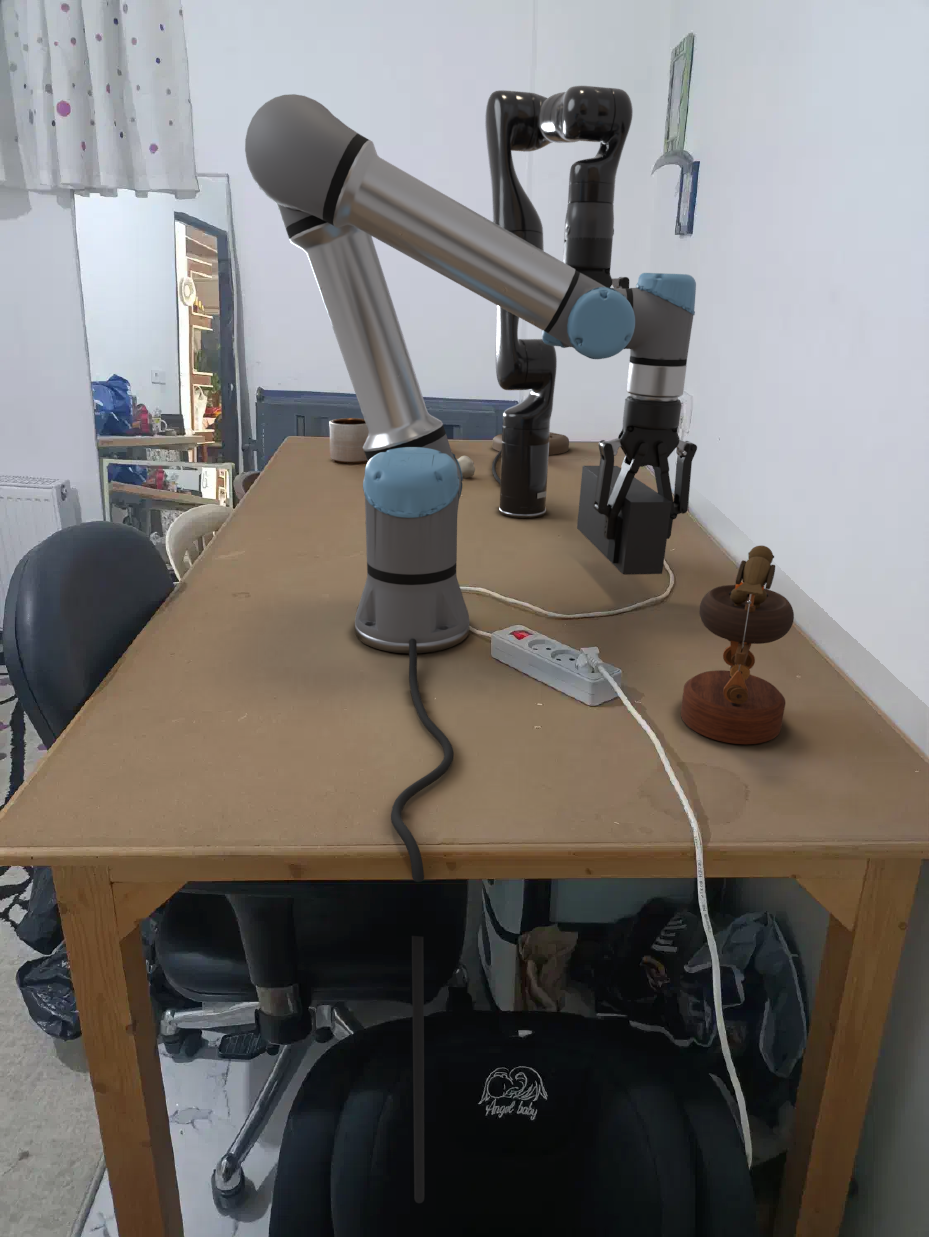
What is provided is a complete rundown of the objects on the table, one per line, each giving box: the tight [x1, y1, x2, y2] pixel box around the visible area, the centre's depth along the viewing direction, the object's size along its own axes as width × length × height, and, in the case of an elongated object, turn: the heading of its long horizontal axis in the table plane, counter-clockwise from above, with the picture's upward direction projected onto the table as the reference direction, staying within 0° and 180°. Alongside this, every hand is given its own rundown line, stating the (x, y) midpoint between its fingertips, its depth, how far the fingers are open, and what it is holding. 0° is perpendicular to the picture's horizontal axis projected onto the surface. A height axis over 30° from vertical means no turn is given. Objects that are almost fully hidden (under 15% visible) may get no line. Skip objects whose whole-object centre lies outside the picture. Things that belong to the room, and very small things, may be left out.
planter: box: [328, 417, 369, 464], centre depth 212 cm, size 11×11×10 cm
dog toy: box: [456, 455, 476, 479], centre depth 196 cm, size 20×6×5 cm, turn 99°
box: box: [576, 465, 672, 576], centre depth 128 cm, size 23×6×10 cm, turn 9°
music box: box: [680, 545, 795, 745], centre depth 89 cm, size 15×11×20 cm
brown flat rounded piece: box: [491, 431, 570, 456], centre depth 224 cm, size 21×28×4 cm
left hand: (634, 559), depth 123 cm, fingers closed on box, 6 cm apart
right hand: (581, 345), depth 138 cm, fingers open, 8 cm apart
